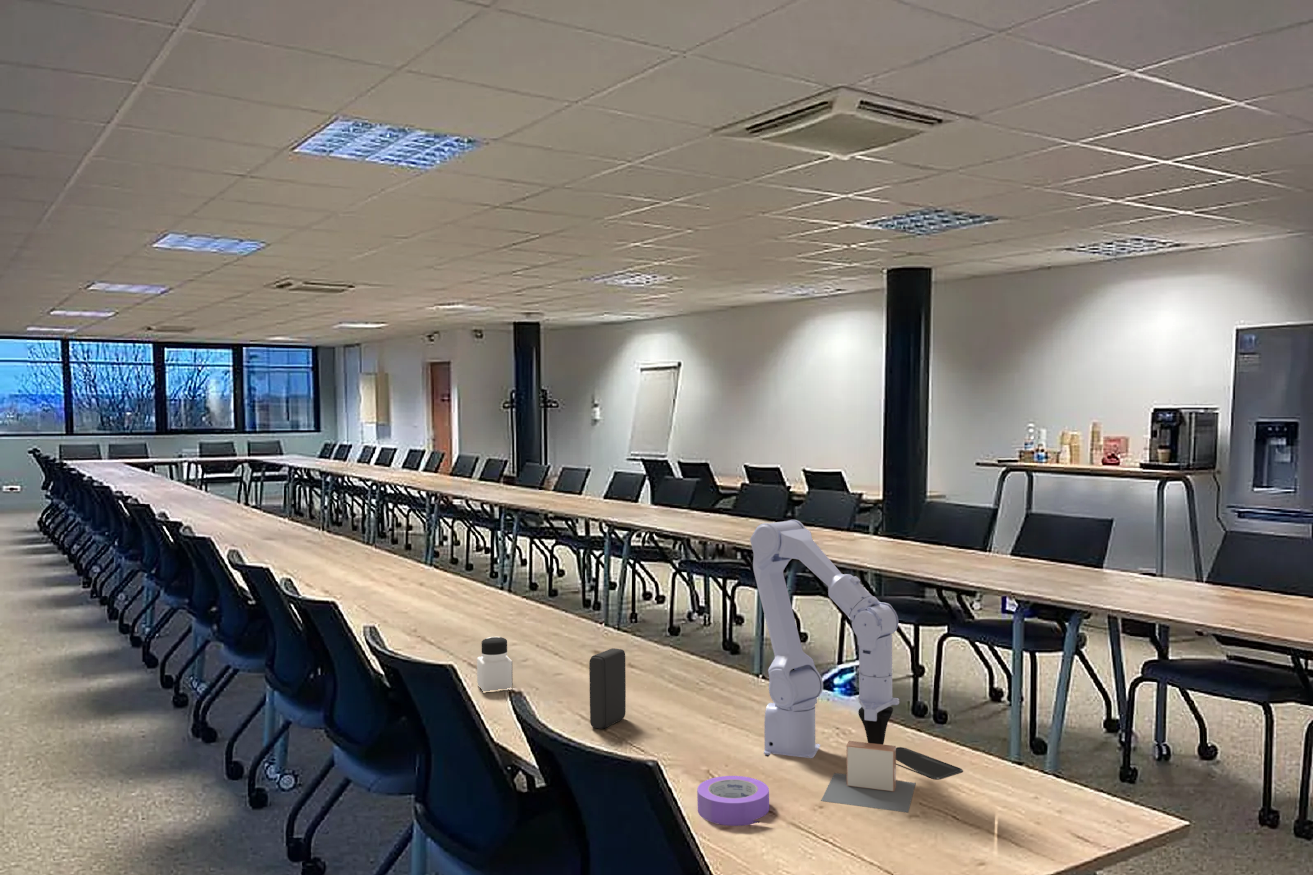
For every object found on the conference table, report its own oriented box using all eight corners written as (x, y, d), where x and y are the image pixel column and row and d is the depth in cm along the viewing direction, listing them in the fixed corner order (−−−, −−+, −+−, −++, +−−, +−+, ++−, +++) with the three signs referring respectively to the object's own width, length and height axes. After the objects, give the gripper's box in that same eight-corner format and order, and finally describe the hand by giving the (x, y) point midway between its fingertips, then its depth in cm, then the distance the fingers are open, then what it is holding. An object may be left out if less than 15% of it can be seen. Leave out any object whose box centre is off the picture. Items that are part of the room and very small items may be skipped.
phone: (936, 779, 164) (872, 754, 176) (936, 786, 164) (872, 760, 176) (965, 769, 168) (901, 746, 180) (965, 776, 168) (901, 751, 180)
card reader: (612, 715, 203) (611, 646, 203) (627, 718, 201) (627, 648, 201) (587, 727, 195) (587, 655, 195) (603, 730, 193) (603, 658, 193)
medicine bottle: (512, 690, 223) (512, 640, 222) (482, 694, 220) (482, 643, 220) (506, 682, 229) (505, 633, 229) (477, 686, 227) (476, 636, 226)
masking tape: (682, 812, 153) (682, 788, 153) (729, 791, 161) (729, 769, 161) (737, 834, 145) (737, 809, 145) (784, 811, 153) (783, 788, 153)
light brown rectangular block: (846, 786, 161) (846, 745, 161) (848, 780, 164) (848, 740, 164) (894, 792, 158) (894, 751, 158) (896, 786, 161) (895, 746, 161)
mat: (820, 804, 155) (820, 800, 155) (834, 776, 167) (834, 772, 167) (908, 816, 150) (908, 812, 150) (915, 786, 162) (915, 782, 162)
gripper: (894, 686, 158) (894, 766, 159) (903, 664, 172) (903, 738, 172) (851, 682, 161) (852, 761, 161) (863, 661, 174) (864, 734, 175)
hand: (876, 749), depth 167 cm, fingers closed
